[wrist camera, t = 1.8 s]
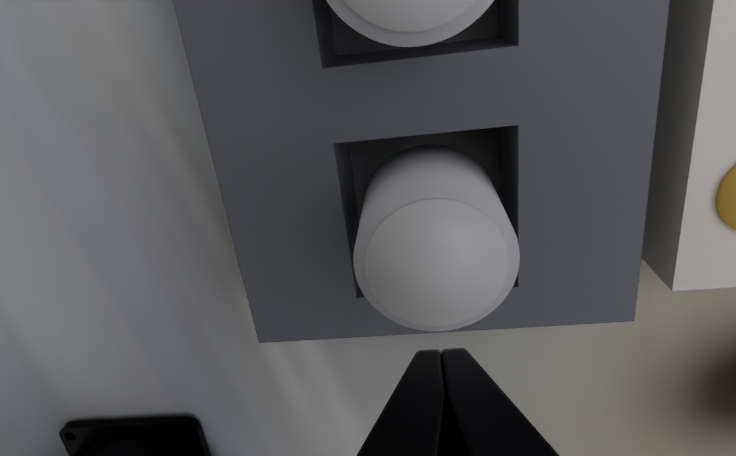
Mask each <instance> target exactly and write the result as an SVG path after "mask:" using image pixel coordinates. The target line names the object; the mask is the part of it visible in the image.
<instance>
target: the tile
mask: <svg viewBox="0 0 736 456" xmlns="http://www.w3.org/2000/svg"><path fill="white" fill-rule="evenodd" d="M641 257H642V259H643V260H644V261H645V262H646V263H647V264H648V265H649V266H650V267H651V268H652V270H653V271H654V272H655V273H656V274H657V275H658V276H659V277H660V278H661V280H662V281H663V282H664V283H665V284H666V285H667V286H668V287H669V288H670V289H671V291H684V290H700V289H715V288H731V287H736V0H670V2H669V11H668V20H667V29H666V38H665V47H664V56H663V65H662V74H661V83H660V92H659V101H658V110H657V119H656V128H655V137H654V146H653V155H652V164H651V173H650V182H649V191H648V200H647V209H646V218H645V227H644V236H643V245H642V254H641Z"/></svg>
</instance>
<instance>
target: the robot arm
mask: <svg viewBox="0 0 736 456" xmlns="http://www.w3.org/2000/svg"><path fill="white" fill-rule="evenodd" d="M441 355H442V356H441ZM188 428H189V429H188ZM59 435H60V438H61V440H62V442H63V444H64V446H65V448H66V450H67V452H68V454H69V456H211V454H210V451H209V448H208V445H207V442H206V439H205V436H204V433H203V430H202V427H201V424H200V422H199V421H198V420H197V419H195V418H193V417H163V418H139V419H116V420H92V421H71V422H68V423H66V424H65V425H64V427H63V428H62V429H61V431H60V433H59ZM357 456H559V455H558V453H557V452H556V451H555V450H554V449H553V448H552V447H551V445H550V444H549V443H548V442H547V441H546V440H545V439H544V437H543V436H542V435H541V434H540V433H539V432H538V431H537V430H536V428H535V427H534V426H533V425H532V424H531V423H530V422H529V420H528V419H527V418H526V417H525V416H524V415H523V414H522V412H521V411H520V410H519V409H518V408H517V407H516V406H515V405H514V403H513V402H512V401H511V400H510V399H509V398H508V397H507V395H506V394H505V393H504V392H503V391H502V390H501V389H500V388H499V386H498V385H497V384H496V383H495V382H494V381H493V380H492V378H491V377H490V376H489V375H488V374H487V373H486V372H485V370H484V369H483V368H482V367H481V366H480V365H479V364H478V363H477V361H476V360H475V359H474V358H473V357H472V356H471V355H470V353H469V352H468V351H467V350H466V349H464V348H454V349H444V350H442V353H441V352H440V351H439V350H420V351H418V352H416V354H415V356H414V357H413V359H412V361H411V362H410V364H409V366H408V368H407V369H406V371H405V373H404V375H403V376H402V378H401V380H400V381H399V383H398V385H397V387H396V388H395V390H394V392H393V394H392V395H391V397H390V399H389V400H388V402H387V404H386V406H385V407H384V409H383V411H382V413H381V414H380V416H379V418H378V420H377V421H376V423H375V425H374V426H373V428H372V430H371V432H370V433H369V435H368V437H367V439H366V440H365V442H364V444H363V445H362V447H361V449H360V451H359V452H358V454H357Z"/></svg>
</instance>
